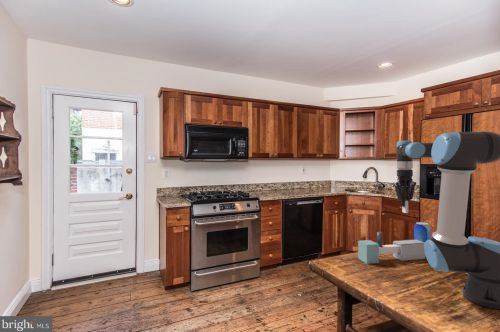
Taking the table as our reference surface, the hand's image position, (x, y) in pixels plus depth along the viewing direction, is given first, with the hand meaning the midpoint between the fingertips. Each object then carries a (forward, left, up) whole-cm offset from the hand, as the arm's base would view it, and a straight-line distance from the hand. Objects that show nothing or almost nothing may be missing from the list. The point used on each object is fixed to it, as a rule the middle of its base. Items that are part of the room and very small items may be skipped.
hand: (405, 212), depth 148 cm
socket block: (+3, +20, -26) cm, 33 cm away
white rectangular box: (+3, -4, -26) cm, 26 cm away
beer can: (+14, -23, -26) cm, 38 cm away
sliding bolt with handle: (+3, +10, -22) cm, 25 cm away
